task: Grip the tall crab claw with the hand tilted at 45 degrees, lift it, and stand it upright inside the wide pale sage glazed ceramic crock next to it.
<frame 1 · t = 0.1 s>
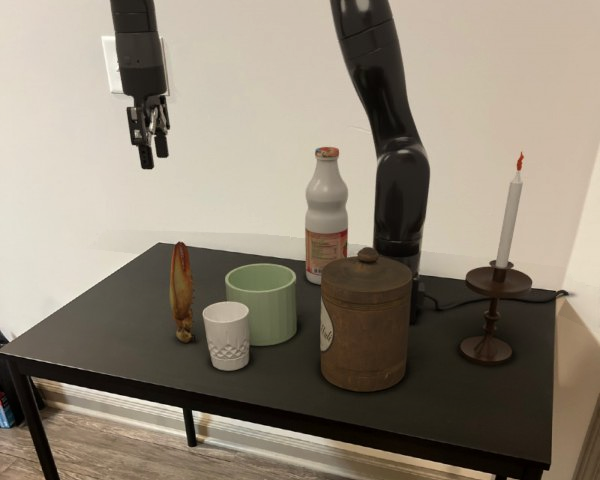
hand: (155, 163, 111), 29 cm above the table, tool pointing down, fingers open, 8 cm apart
wooden container: (362, 370, 107), on the table
candlestick: (485, 353, 111), on the table
white cup: (230, 362, 110), on the table
crock: (263, 329, 119), on the table
crab claw: (184, 344, 115), on the table
fruit juice: (326, 278, 139), on the table
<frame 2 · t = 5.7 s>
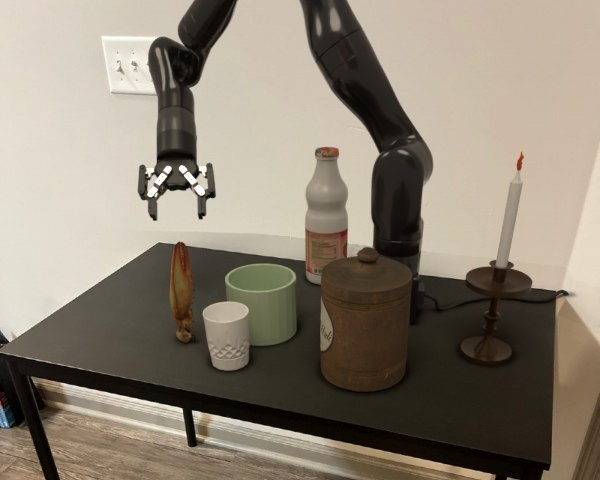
hand: (177, 218, 113), 20 cm above the table, tool tilted 45°, fingers open, 8 cm apart
nothing on the table moved.
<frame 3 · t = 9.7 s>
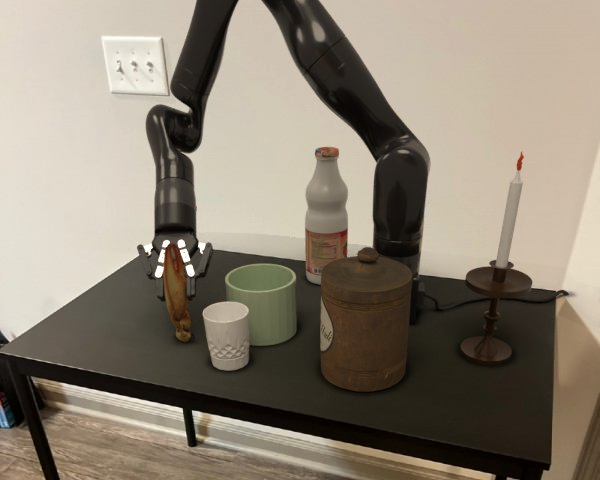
hand: (176, 299, 108), 10 cm above the table, tool tilted 45°, fingers closed on crab claw, 4 cm apart
crab claw: (184, 344, 115), on the table, touching gripper
everything else where it was.
when the fingers open (11 cm above the table, at t = 20.1 s): crab claw stays where it is, resting on crock.
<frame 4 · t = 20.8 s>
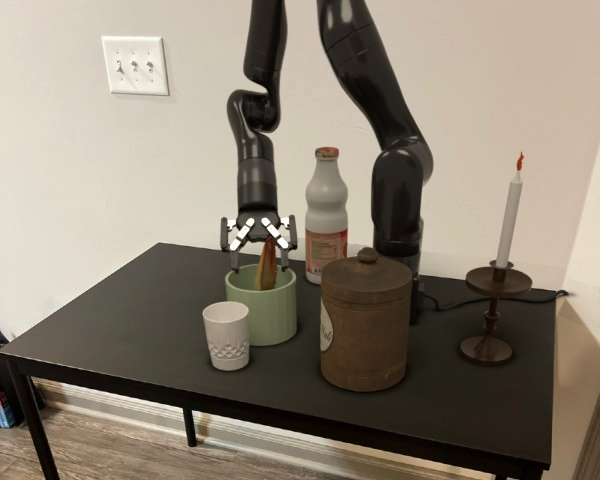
hand: (260, 271, 111), 13 cm above the table, tool tilted 45°, fingers open, 8 cm apart
crab claw: (263, 324, 119), point 1 cm above the table, touching crock
everything else where it was.
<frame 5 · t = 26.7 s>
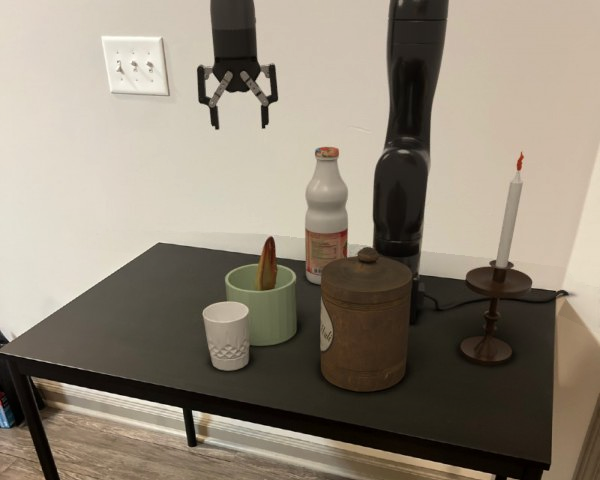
hand: (240, 128, 112), 34 cm above the table, tool pointing down, fingers open, 8 cm apart
nothing on the table moved.
at the end: crab claw inside the target area in the crock (0.4 cm from its centre), point 0.9 cm above the crock's base; the gripper is holding nothing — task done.
